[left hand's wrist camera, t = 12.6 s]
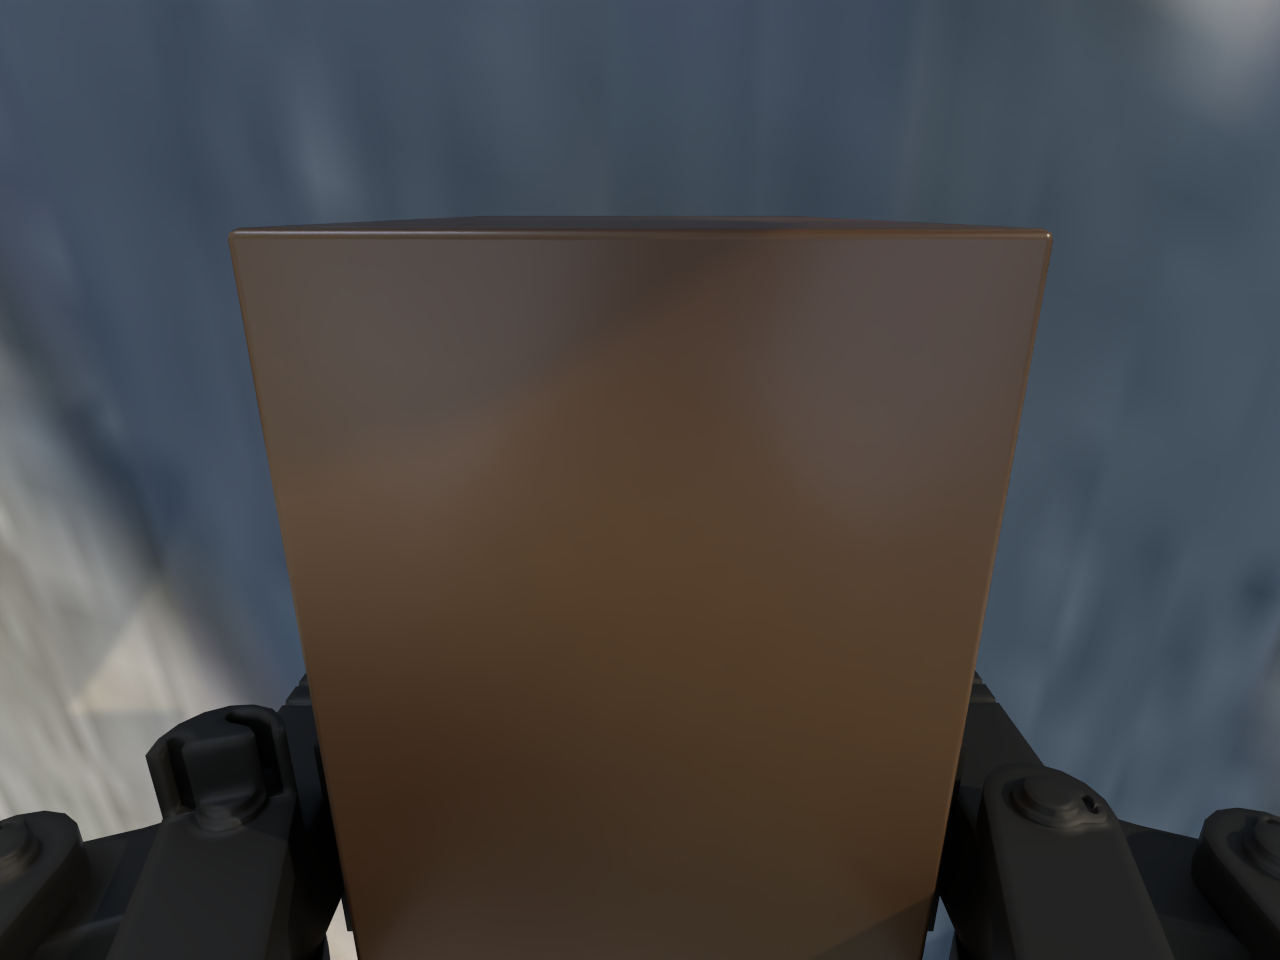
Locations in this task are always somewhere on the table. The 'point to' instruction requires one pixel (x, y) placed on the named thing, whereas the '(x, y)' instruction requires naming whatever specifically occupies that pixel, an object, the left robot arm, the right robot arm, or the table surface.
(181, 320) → the table surface
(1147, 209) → the table surface
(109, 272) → the table surface
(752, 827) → the post
